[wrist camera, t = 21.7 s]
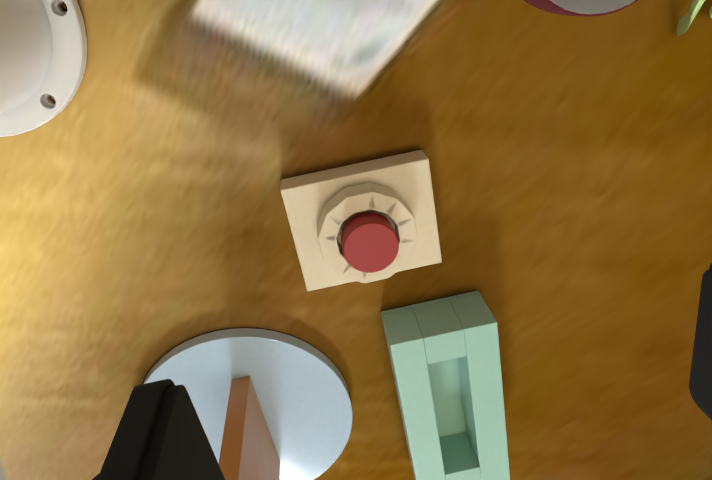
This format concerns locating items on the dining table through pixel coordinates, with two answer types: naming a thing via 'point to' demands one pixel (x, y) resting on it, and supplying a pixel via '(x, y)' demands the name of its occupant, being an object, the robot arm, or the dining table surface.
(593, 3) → the mug
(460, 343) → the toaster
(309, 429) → the plate
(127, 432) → the robot arm
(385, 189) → the control block
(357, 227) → the stop button
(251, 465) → the copper rectangular plank
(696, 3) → the figurine
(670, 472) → the dining table surface
